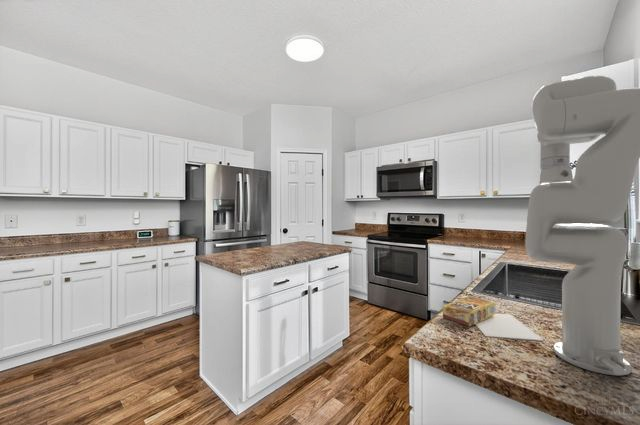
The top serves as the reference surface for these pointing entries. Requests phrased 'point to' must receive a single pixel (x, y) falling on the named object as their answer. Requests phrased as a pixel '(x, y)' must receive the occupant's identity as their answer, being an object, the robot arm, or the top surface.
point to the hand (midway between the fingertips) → (554, 217)
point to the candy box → (469, 310)
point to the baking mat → (506, 328)
